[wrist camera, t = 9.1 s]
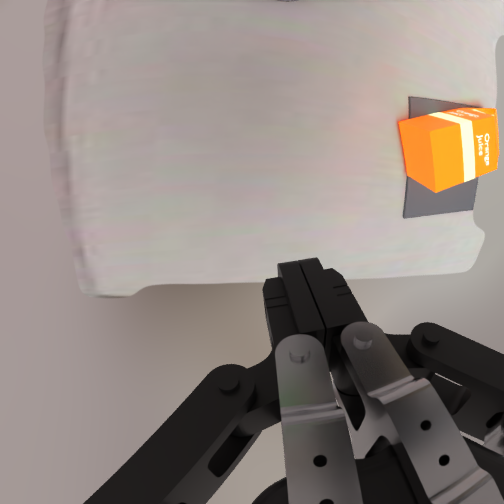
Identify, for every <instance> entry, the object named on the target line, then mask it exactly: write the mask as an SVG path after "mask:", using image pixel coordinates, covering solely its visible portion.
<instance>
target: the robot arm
mask: <svg viewBox="0 0 504 504" xmlns="http://www.w3.org/2000/svg"><path fill="white" fill-rule="evenodd" d="M280 1H297V0H280ZM277 267H278V277H276V278H270V279H266V281H265V284H264V286H263V297H264V305H265V314H266V321H267V326H268V331H269V336H270V341H271V346H272V351H271V353H270V355H269V356H268V357H267V358H266V359H265V360H264V361H262V362H261V363H259V364H257V365H255V366H252V367H250V368H248V369H246V368H245V367H243V366H240V365H236V364H226V365H222V366H219V367H217V368H215V369H214V370H212V371H211V372H210V373H209V374H208V375H207V376H206V377H205V378H204V379H203V380H202V382H201V383H200V384H199V385H198V386H197V387H196V388H195V389H194V391H193V392H192V393H191V394H190V395H189V396H188V397H187V398H186V399H185V401H184V402H183V403H182V404H181V405H180V406H179V407H178V408H177V410H175V412H174V413H173V414H172V415H171V416H170V417H169V418H168V419H167V420H166V421H165V422H164V423H163V424H162V426H160V428H159V429H158V430H157V431H156V432H155V433H154V434H153V435H152V436H151V437H150V438H149V439H148V440H147V441H146V442H145V443H144V444H143V446H141V447H140V448H139V449H138V451H137V452H136V453H135V454H134V455H133V456H132V457H131V458H130V459H129V460H128V461H127V462H126V463H125V464H124V465H123V466H122V467H121V468H120V469H119V470H118V471H117V472H116V473H115V474H114V475H113V476H112V477H111V478H110V479H109V480H108V481H107V482H105V483H104V484H103V485H102V486H101V487H100V488H99V489H98V490H97V491H96V492H95V493H94V494H93V495H92V496H91V497H90V498H89V499H88V500H86V501H85V502H84V503H83V504H206V503H207V502H208V500H209V499H210V498H211V497H212V496H213V494H214V493H215V492H216V491H217V490H218V488H219V487H220V486H221V485H222V483H223V482H224V481H225V480H226V479H227V477H228V476H229V475H230V474H231V472H232V471H233V470H234V469H235V467H236V466H237V465H238V463H239V462H240V461H241V459H242V458H243V457H244V456H245V454H246V453H247V451H248V450H249V449H250V447H251V446H252V445H253V443H254V442H255V441H256V439H257V438H258V436H259V435H260V434H261V432H262V430H264V429H266V428H268V427H270V426H272V425H274V424H276V423H279V422H281V424H282V434H283V446H284V457H285V468H286V477H285V478H283V479H281V480H279V481H277V482H275V483H274V484H272V485H271V486H269V487H268V488H267V489H265V490H264V491H263V492H262V493H261V494H260V495H259V496H258V497H257V498H256V499H255V500H254V501H253V503H252V504H504V354H501V353H499V352H497V351H495V350H493V349H490V348H488V347H486V346H484V345H482V344H480V343H477V342H475V341H473V340H471V339H469V338H466V337H464V336H462V335H460V334H457V333H455V332H453V331H451V330H449V329H446V328H444V327H442V326H439V325H437V324H435V323H429V322H426V323H421V324H419V325H417V326H415V327H414V329H413V330H412V332H411V335H393V334H386V333H384V332H383V331H382V329H381V328H379V327H378V326H377V325H375V324H373V323H369V322H368V321H367V319H366V317H365V315H364V313H363V311H362V310H361V308H360V306H359V304H358V303H357V301H356V299H355V297H354V295H353V294H352V292H351V290H350V288H349V287H348V286H347V283H346V281H345V279H344V278H343V276H342V275H341V274H340V273H338V272H337V271H336V270H334V269H333V268H330V269H323V267H322V265H321V263H320V261H319V259H318V258H317V257H316V258H310V259H303V260H298V261H291V262H285V263H278V265H277ZM330 372H331V374H332V377H333V385H332V381H331V377H330ZM435 373H438V374H439V375H441V376H443V377H445V378H448V379H450V380H452V381H454V382H456V383H458V384H460V385H462V386H459V385H457V384H455V383H452V382H450V381H448V380H446V379H444V378H442V377H440V376H438V375H436V374H435ZM335 397H336V398H335ZM336 400H337V402H338V404H339V406H338V405H337V402H336ZM348 428H349V430H348ZM459 430H460V431H462V432H464V433H466V434H469V435H471V436H473V437H475V438H478V439H480V440H482V441H484V444H483V446H482V445H480V444H478V443H476V442H474V441H472V440H470V439H468V438H466V437H464V436H462V435H461V433H460V431H459ZM349 431H350V433H351V437H352V444H351V440H350V435H349ZM352 448H353V449H352ZM353 452H354V454H353ZM354 456H355V458H356V459H355V458H354Z"/></svg>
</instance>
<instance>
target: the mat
mask: <svg viewBox="0 0 504 504" xmlns="http://www.w3.org/2000/svg"><path fill="white" fill-rule="evenodd" d="M459 108H477V107H472V106H467V105H462V104H457V103H451V102H445V101H439V100H432V99H424V98H416V97H409V119H412V118H416V117H421V116H425V115H428V114H433V113H437V112H444V111H448V110H453V109H459ZM478 177H479V176H478ZM478 177H475V178H474V179H471V180H469V181H466V182H463V183H460V184H457V185H455V186H452V187H450V188H447V189H444V190H442V191H439V192H437V193H435V192H434V191H432V190H430V189H429V188H427V187H426V186H424V185H422V184H421V183H419V182H418V181H416V180H414V179H413V178H411V177H409V176H407V181H406V192H405V202H404V211H403V218H412V217H420V216H428V215H435V214H443V213H451V212H459V211H467V210H473V207H474V202H475V196H476V189H477V183H478Z"/></svg>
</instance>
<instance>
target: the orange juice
mask: <svg viewBox="0 0 504 504" xmlns="http://www.w3.org/2000/svg"><path fill="white" fill-rule="evenodd" d="M399 127H400V132H401V138H402V143H403V149H404V156H405V162H406V169H407V176H409V177H411V178H413V179H414V180H416V181H418V182H419V183H421V184H422V185H424V186H426V187H427V188H429V189H430V190H432V191H434V192H435V193H437V192H439V191H442V190H444V189H447V188H450V187H452V186H455V185H457V184H460V183H463V182H466V181H469V180H471V179H474V178H475V177H478V176H481V175H483V174H486V173H488V172H491V171H493V170H496V169H497V162H498V155H499V140H498V139H499V138H498V124H497V113H496V109H491V108H459V109H453V110H448V111H444V112H437V113H433V114H428V115H425V116H421V117H416V118H412V119H408V120H404V121H400V122H399Z"/></svg>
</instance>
